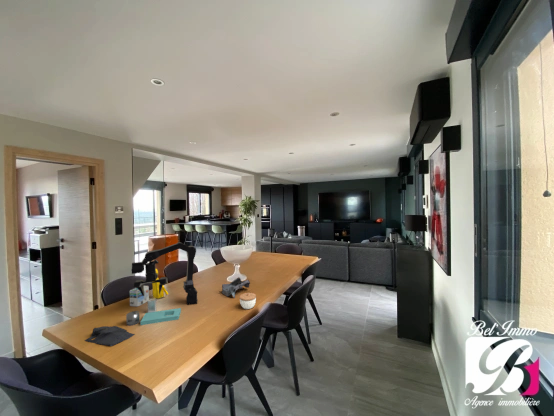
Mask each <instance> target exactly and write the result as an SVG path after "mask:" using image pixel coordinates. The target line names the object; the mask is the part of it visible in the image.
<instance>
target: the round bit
mask: <svg viewBox="0 0 554 416" xmlns="http://www.w3.org/2000/svg"><path fill="white" fill-rule="evenodd" d="M125 316H126V317H125V318H126V319H125V321H126V326H127V327H131V326H136V325H137V324H139V323H140V322H141V319H140V311H139V310H132V311H130V312H128V313H126V315H125Z"/></svg>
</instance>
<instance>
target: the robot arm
mask: <svg viewBox="0 0 554 416" xmlns="http://www.w3.org/2000/svg"><path fill="white" fill-rule="evenodd" d="M177 250H182V251H184V252H186V257H187V263H186V264H187V267H186V268H187V269H186V279H185V281H183V286H182V288H183V290H184V292H185V293H186V297H185V298H186V299H185V300H186V305H187V306H189V305H197V304H198V301H199V300H198V291H197V288H196V287H195V285H194V280H193V277H194V262H195V257H196V255H197V248H196V247H195V246H194V245H188V244H185V243H183V242H180V241H179V242H176V243H174V244H171V245H168V246H165V247H163V248H160V249H154V250H148V251H146V253H145V255H144V258H143V259H142V261H137V262H132V263H131V275H133V274H142V273H143V272H144V271H145V274H144V275H145V280H143V279H137V280H135V281H134V282H133V284H132V285H133V288H138V289H139V290H140V292H141V293H142V295H143V296H144V286H145V285H148V284H152V283H158V282H159V283H160V284H159V294H160V292H161V289H162V286H163V285H164V286H165V284H167V283H168V281H169V279H168V276H162V277H160V278H159V272H158V273H156V269H157V268H156V265H157V264H159V261H158V260H157V259H158V258H159V257H161V256H163V255H166V254H168V253H171V252H174V251H177ZM157 278H158V279H157ZM156 279H157V280H156ZM153 281H154V282H153Z"/></svg>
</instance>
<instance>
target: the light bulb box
mask: <svg viewBox="0 0 554 416" xmlns="http://www.w3.org/2000/svg"><path fill="white" fill-rule="evenodd" d="M149 288H150V287H149V285H144V296H143V295H142V293H141V292H140V290H139V289H138V288H136V287H133V288H132V289H130V290H129V307H140V306H142V305H143V304H145V303H148V300H149V299H150V289H149Z"/></svg>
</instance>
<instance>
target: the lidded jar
mask: <svg viewBox="0 0 554 416" xmlns="http://www.w3.org/2000/svg"><path fill="white" fill-rule="evenodd" d="M256 302H257V294H255V293H253V292H246V293H244V292H243V293H242V294H240V295H239V303H240V306H241V307H242V309H244V310H250V309H253V308H254V307H255V305H256Z"/></svg>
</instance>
